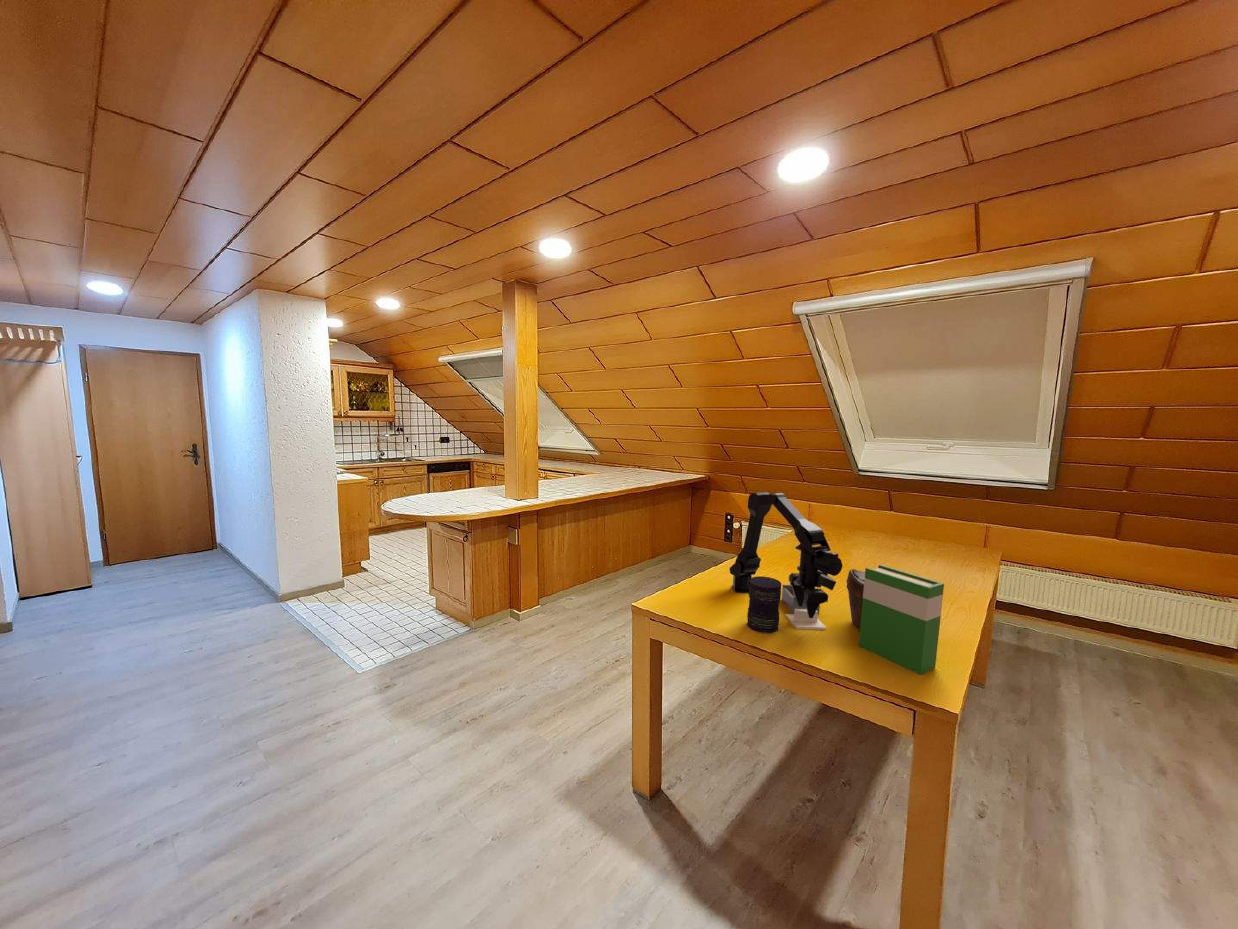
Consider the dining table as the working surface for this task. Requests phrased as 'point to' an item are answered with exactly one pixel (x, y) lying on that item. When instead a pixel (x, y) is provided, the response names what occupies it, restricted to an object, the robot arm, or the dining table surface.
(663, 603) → the dining table surface
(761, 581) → the storage jar
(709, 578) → the dining table surface
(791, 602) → the grey open box
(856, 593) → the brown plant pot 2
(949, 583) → the dining table surface
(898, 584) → the hardback book
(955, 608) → the dining table surface
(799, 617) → the lid
